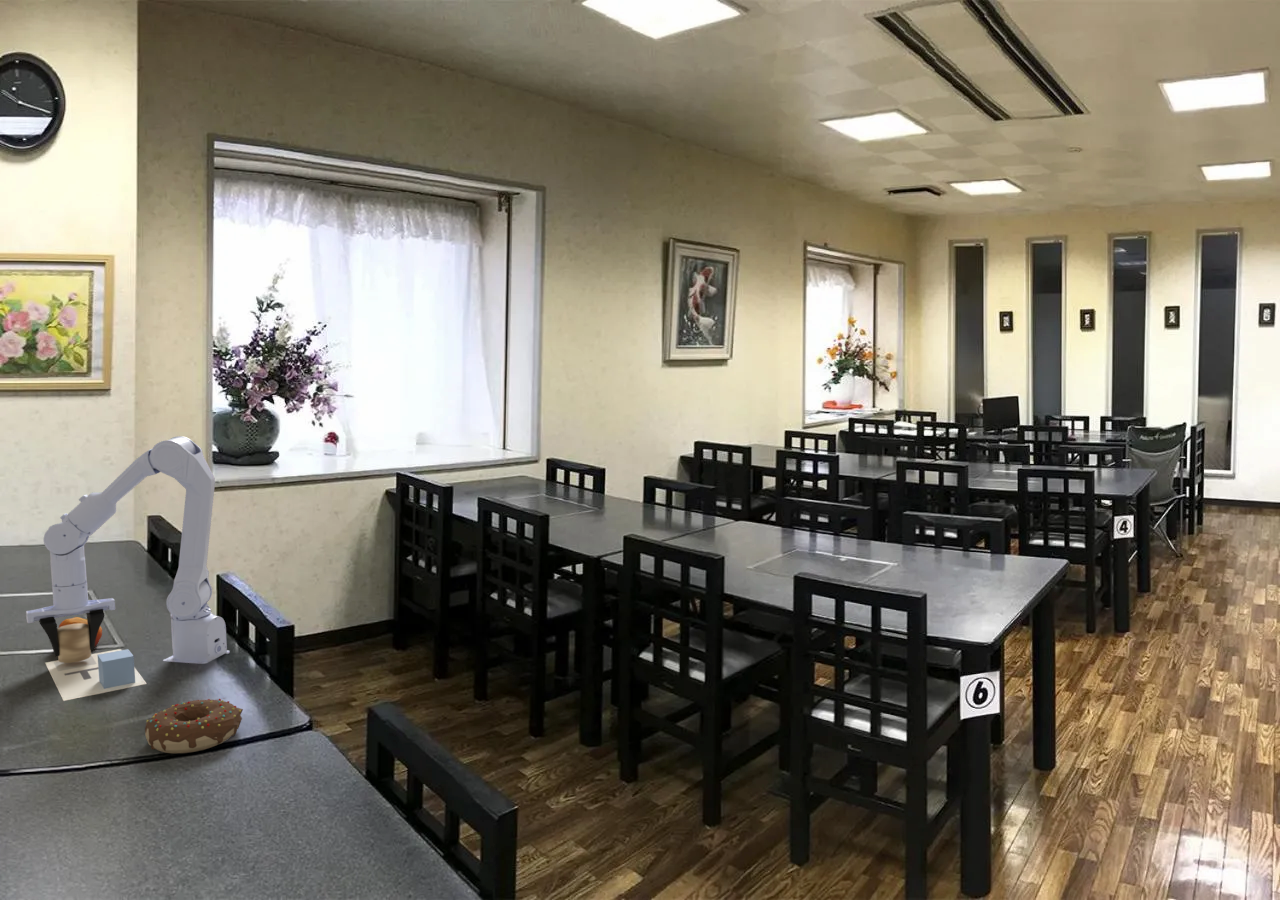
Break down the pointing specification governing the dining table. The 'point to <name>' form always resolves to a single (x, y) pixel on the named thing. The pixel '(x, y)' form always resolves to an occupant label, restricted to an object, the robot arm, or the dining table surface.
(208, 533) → the robot arm
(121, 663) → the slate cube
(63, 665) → the letter mat
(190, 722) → the donut
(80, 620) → the fruit
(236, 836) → the dining table surface
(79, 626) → the wooden cylinder
